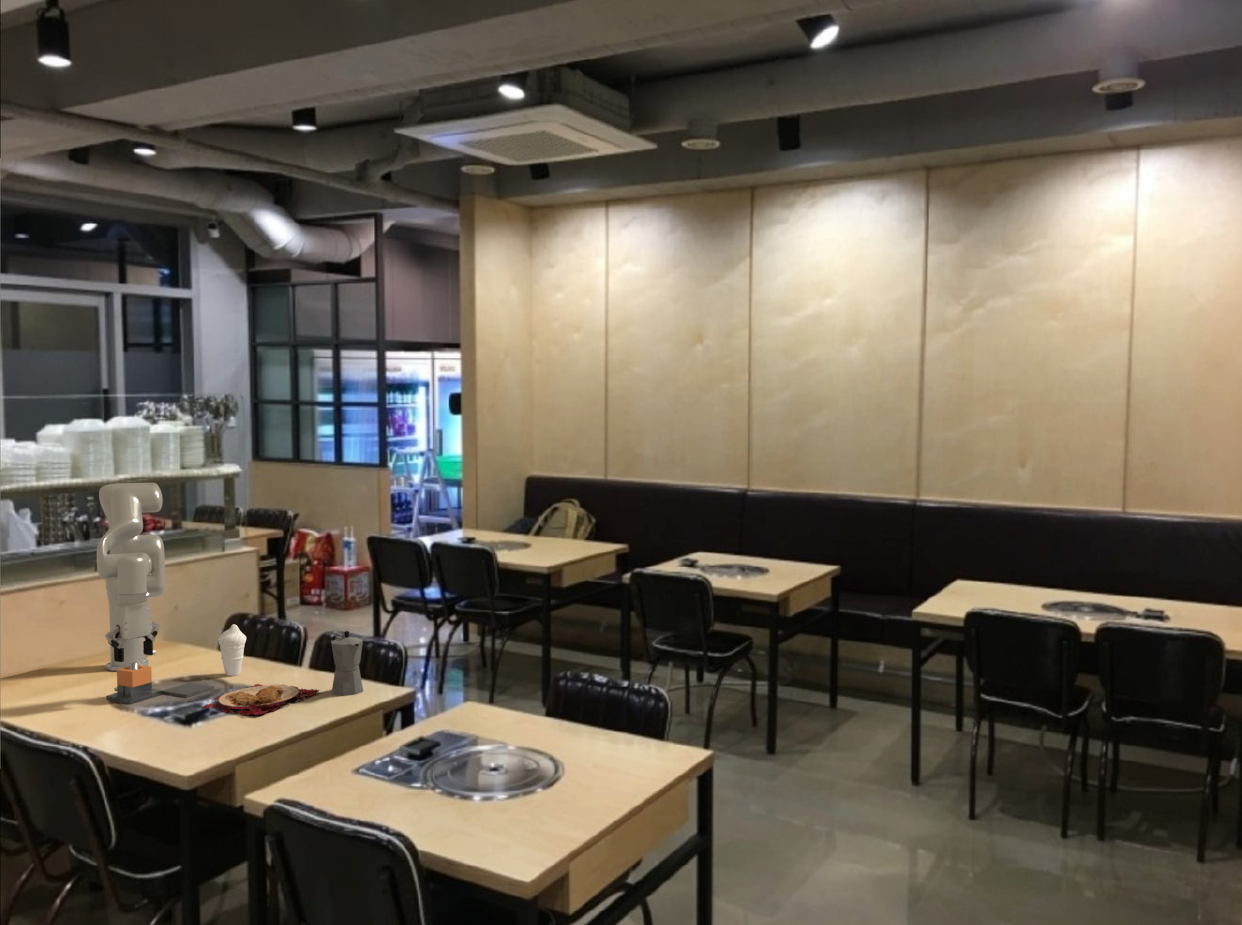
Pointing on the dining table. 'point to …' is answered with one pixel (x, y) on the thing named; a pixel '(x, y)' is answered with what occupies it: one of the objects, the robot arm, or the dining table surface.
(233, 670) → the soft serve ice cream cone
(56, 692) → the dining table surface
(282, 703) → the plate with food
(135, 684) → the orange square tube
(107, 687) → the dining table surface
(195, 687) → the mat
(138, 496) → the robot arm
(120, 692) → the grey peg stand
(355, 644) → the coffeepot
